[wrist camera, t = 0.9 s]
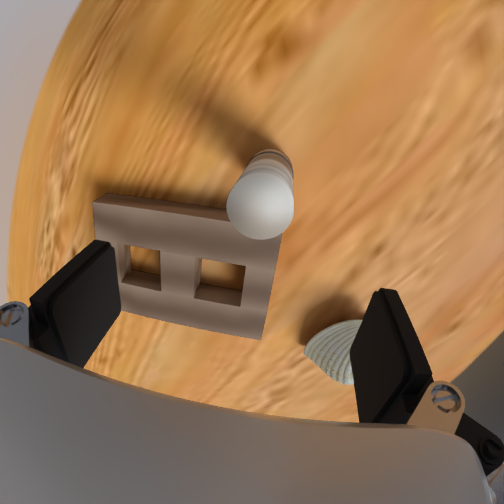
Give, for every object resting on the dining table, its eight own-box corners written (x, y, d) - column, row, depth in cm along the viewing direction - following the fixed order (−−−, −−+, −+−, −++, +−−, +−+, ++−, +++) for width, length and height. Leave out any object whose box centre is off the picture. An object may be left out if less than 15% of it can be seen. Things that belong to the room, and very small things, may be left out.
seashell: (396, 345, 34) (357, 396, 34) (350, 315, 41) (314, 360, 40) (382, 324, 29) (334, 385, 29) (328, 290, 36) (286, 343, 35)
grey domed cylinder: (252, 143, 28) (229, 170, 17) (296, 150, 28) (300, 181, 17) (247, 184, 30) (222, 234, 19) (289, 191, 30) (288, 245, 19)
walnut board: (106, 193, 32) (92, 202, 29) (283, 218, 31) (282, 230, 28) (115, 293, 38) (105, 306, 36) (263, 323, 38) (260, 340, 35)
